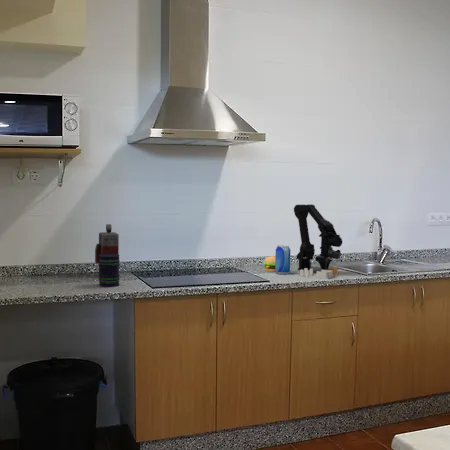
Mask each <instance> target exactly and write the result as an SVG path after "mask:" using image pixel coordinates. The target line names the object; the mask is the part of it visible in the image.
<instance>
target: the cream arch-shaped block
mask: <svg viewBox="0 0 450 450" xmlns="http://www.w3.org/2000/svg"><path fill="white" fill-rule="evenodd" d="M315 276H316V279H327V280H329V279H331V278H334V275H333V271H332V270H321V272H320V271H317V273H316V275H315Z"/></svg>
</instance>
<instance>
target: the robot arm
mask: <svg viewBox="0 0 450 450" xmlns="http://www.w3.org/2000/svg"><path fill="white" fill-rule="evenodd" d="M293 213H294V216H295V217H296V218H297V221H298V227H299V235H300V243H301V244H300V246H299V251H298V253H297V254H296V260H298V268H297V270H299V271H300V270H304V268H308V270H309V271H310V268H311V267H312V262H311V261H312V260H313V259H314V255H315V254H316V250H315V245H314V244H313V243H311V241H310V235H309V226H308V219H307V218H308V216H309V215H310V216H311V218H312V219H313V220H314V222H315V223H316V224H317V228H318V230H319V232H320V234H319V235H318V237H320V246H319V249H320V253H319V255H316V256H315V259H314V261H315V262H317V263H318V264H319V267H321V269H322V270H326V268H330V265H331V262H332V261H334V260H339V259H341V256H342V251H341V249H340V250H339V249H336V250H334V249H333V247H334V248H335V247H337V248H340V247H341V246H342V245H343V239H342V237H341V235H340V234H337V232H336V230H335V228H334V227H335V226H334V224H333V223H332V222H331V221H329V220H327V219H325V218H324V217H323V215H322V214H321V213H320V211H319V210H318V209H317V208H316V206H315V205H314V204H295V206H294V207H293Z"/></svg>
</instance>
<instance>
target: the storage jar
mask: <svg viewBox="0 0 450 450" xmlns="http://www.w3.org/2000/svg"><path fill="white" fill-rule="evenodd" d="M99 257H100V258H99V263H98V268H99V267H100V274H99V273H98V281H99V282H98V283H99V285H98V286H99V287H102V288H116V287H119V286H120V272H119V271H120V269H119V268H120V254H119V255H118V254H101V255H99Z"/></svg>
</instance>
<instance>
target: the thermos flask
mask: <svg viewBox="0 0 450 450" xmlns="http://www.w3.org/2000/svg"><path fill="white" fill-rule="evenodd" d="M119 243H120V241H119V233H118V232H114V231H112V224H111V223H110V224H109V223H107V224H106V225H105V231H103V232H98V243H96V245H95V248H94V263H95V264H99V258H100V257H99V255H101V254H118V255H119V256H120V254H119V249H120V248H119ZM99 274H100V267H99V266H98V275H99Z"/></svg>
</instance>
